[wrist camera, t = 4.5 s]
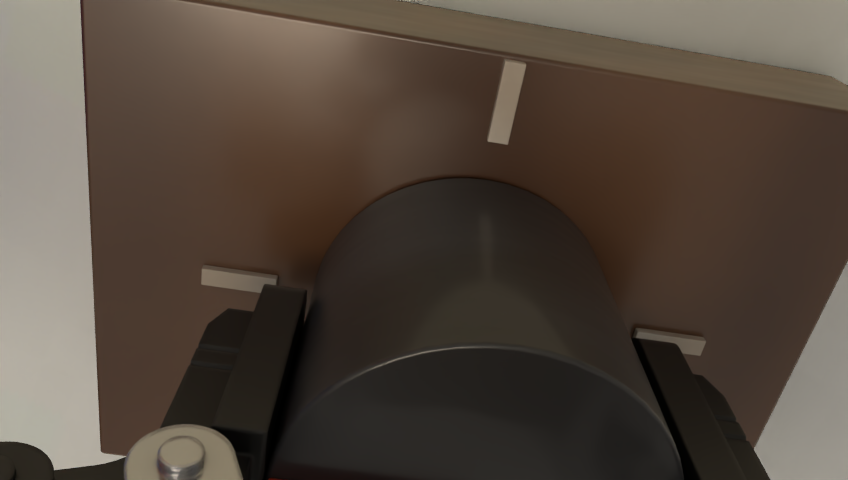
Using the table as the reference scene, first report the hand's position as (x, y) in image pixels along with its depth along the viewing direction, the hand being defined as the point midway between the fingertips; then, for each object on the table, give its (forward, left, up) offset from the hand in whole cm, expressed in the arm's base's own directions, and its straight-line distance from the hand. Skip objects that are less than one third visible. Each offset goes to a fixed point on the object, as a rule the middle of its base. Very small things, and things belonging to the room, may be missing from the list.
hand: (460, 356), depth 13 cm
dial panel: (0, 0, -5) cm, 5 cm away
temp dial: (0, 0, -1) cm, 1 cm away
